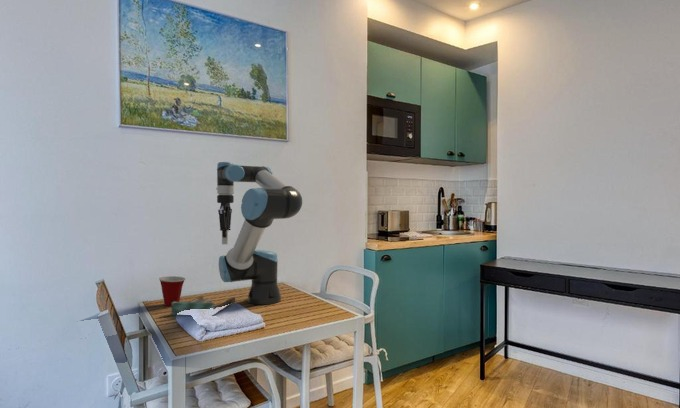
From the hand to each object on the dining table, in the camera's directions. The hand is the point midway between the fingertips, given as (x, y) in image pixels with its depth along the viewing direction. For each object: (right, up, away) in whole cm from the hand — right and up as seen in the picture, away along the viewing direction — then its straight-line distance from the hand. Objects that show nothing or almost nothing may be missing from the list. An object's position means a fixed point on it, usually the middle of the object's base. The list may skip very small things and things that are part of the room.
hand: (225, 244), depth 189 cm
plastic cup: (-20, -26, -13) cm, 35 cm away
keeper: (-4, -26, -24) cm, 35 cm away
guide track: (-3, -26, -17) cm, 31 cm away
